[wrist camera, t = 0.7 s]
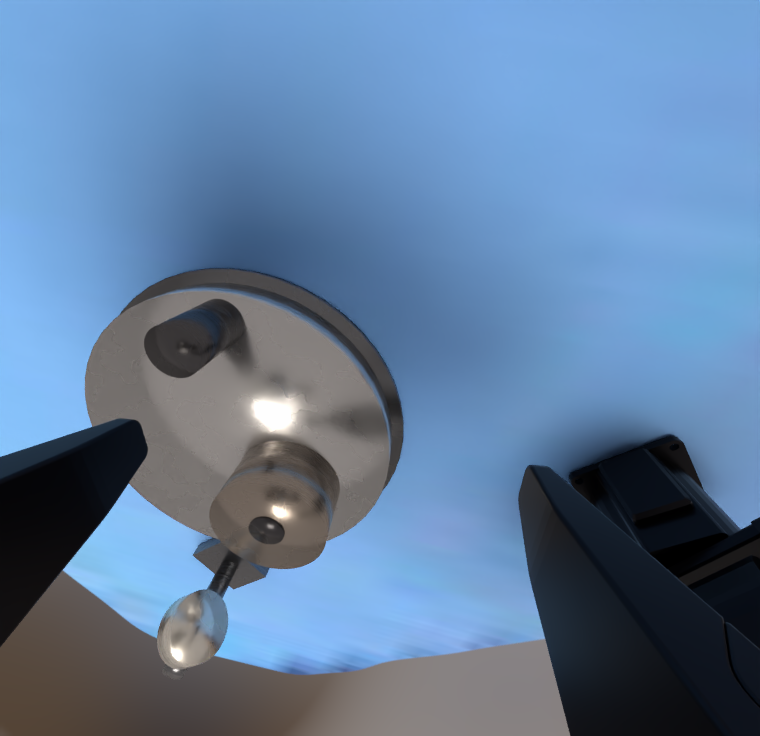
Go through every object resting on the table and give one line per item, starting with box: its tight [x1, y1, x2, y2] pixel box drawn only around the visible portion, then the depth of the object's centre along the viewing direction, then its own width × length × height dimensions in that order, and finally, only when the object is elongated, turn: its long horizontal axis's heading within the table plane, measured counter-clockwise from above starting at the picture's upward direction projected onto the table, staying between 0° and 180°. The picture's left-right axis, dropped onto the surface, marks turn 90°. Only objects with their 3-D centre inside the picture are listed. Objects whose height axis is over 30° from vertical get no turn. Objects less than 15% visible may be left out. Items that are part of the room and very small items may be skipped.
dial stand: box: [157, 538, 269, 679], centre depth 26 cm, size 6×5×9 cm
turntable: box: [85, 283, 392, 541], centre depth 21 cm, size 19×19×6 cm
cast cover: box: [209, 441, 340, 569], centre depth 21 cm, size 7×7×4 cm
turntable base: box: [120, 268, 403, 489], centre depth 24 cm, size 20×20×1 cm
